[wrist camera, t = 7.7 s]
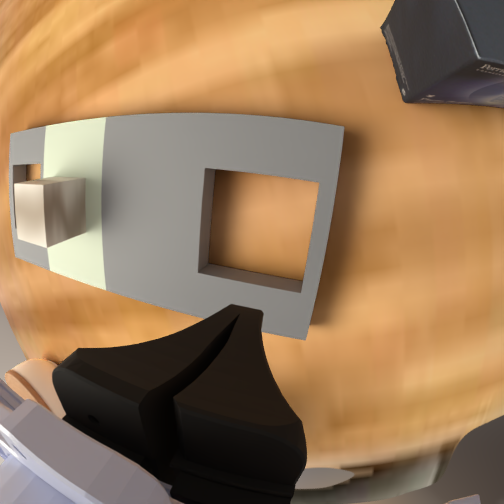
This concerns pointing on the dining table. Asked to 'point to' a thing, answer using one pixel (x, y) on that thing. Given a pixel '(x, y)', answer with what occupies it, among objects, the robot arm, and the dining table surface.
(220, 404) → the robot arm
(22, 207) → the block
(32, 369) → the lidded jar
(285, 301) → the plate
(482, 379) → the dining table surface
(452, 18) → the small box
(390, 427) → the dining table surface
